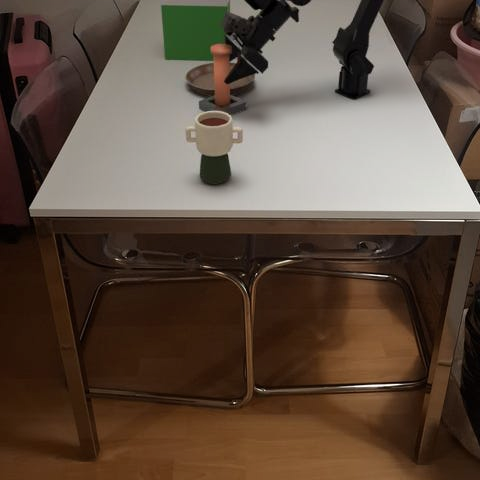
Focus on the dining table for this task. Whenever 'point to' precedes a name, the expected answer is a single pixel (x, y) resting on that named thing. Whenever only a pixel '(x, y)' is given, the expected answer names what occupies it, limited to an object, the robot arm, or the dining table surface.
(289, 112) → the dining table surface
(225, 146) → the cream and green cup
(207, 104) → the collar
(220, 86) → the stop pin
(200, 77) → the plant saucer
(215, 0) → the hardback book
